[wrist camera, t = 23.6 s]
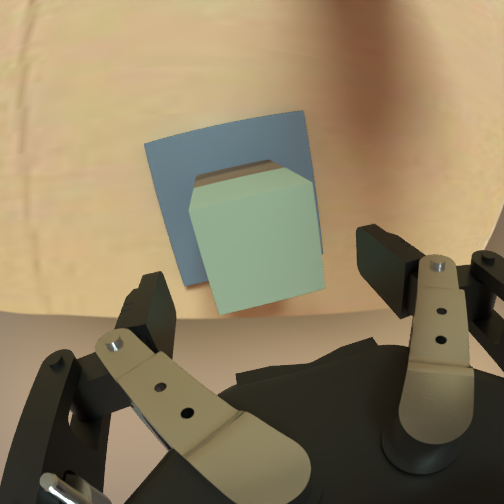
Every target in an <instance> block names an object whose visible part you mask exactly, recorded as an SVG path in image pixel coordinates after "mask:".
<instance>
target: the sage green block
mask: <svg viewBox="0 0 504 504" xmlns="http://www.w3.org/2000/svg"><path fill="white" fill-rule="evenodd" d="M189 214H190V218H191V221H192V225H193V229H194V232H195V236H196V239H197V243H198V246H199V250H200V253H201V257H202V260H203V263H204V267H205V270H206V273H207V277H208V280H209V283H210V287H211V290H212V293H213V296H214V300H215V303H216V306H217V309H218V312H219V315H223V314H227V313H231V312H236V311H240V310H244V309H248V308H252V307H256V306H260V305H264V304H268V303H272V302H276V301H280V300H284V299H288V298H292V297H296V296H299V295H303V294H307V293H311V292H314V291H318V290H321V289H325V282H324V272H323V262H322V253H321V244H320V236H319V228H318V220H317V212H316V205H315V198H314V191H313V184H312V182H311V181H309V180H307V179H305V178H304V177H302V176H300V175H298V174H296V173H295V172H293V171H291V170H289V169H287V168H280V169H275V170H270V171H265V172H261V173H256V174H251V175H247V176H242V177H238V178H234V179H229V180H225V181H221V182H217V183H212V184H208V185H204V186H200V187H196V188H194V189H193V193H192V197H191V202H190V206H189Z"/></svg>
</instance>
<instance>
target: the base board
mask: <svg viewBox="0 0 504 504" xmlns="http://www.w3.org/2000/svg"><path fill="white" fill-rule="evenodd" d="M144 146H145V151H146V155H147V159H148V163H149V167H150V171H151V175H152V178H153V182H154V186H155V190H156V193H157V197H158V201H159V204H160V208H161V211H162V215H163V218H164V222H165V225H166V229H167V232H168V236H169V239H170V242H171V245H172V249H173V252H174V255H175V258H176V262H177V265H178V268H179V271H180V274H181V277H182V280H183V283H184V286H189V285H194V284H198V283H202V282H207V281H209V280H208V277H207V273H206V270H205V267H204V263H203V260H202V257H201V253H200V250H199V246H198V243H197V239H196V236H195V232H194V229H193V225H192V221H191V218H190V214H189V206H190V202H191V197H192V193H193V187H194V183H195V179H196V175H200V174H204V173H208V172H212V171H217V170H221V169H225V168H230V167H234V166H239V165H244V164H248V163H253V162H258V161H263V160H268V159H270V160H271V161H273V162H275V163H277V164H279V165H281V166H282V167H284V168H287V169H289V170H291V171H293V172H295V173H296V174H298V175H300V176H302V177H304V178H305V179H307V180H309V181H311V182H312V184H313V191H314V198H315V205H316V212H317V220H318V228H319V236H320V244H321V253H322V254H323V249H322V239H321V230H320V221H319V212H318V204H317V196H316V189H315V181H314V174H313V167H312V161H311V154H310V147H309V141H308V135H307V129H306V123H305V117H304V112H303V111H295V112H288V113H281V114H275V115H269V116H263V117H257V118H251V119H246V120H240V121H235V122H230V123H225V124H221V125H216V126H211V127H207V128H203V129H198V130H194V131H190V132H186V133H182V134H178V135H174V136H170V137H167V138H163V139H159V140H156V141H152V142H149V143H145V144H144Z"/></svg>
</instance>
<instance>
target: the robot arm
mask: <svg viewBox="0 0 504 504" xmlns="http://www.w3.org/2000/svg"><path fill="white" fill-rule="evenodd" d="M356 247H357V266H358V270H359V272H360V274H361V276H362V277H363V278H364V279H365V280H366V281H367V282H368V284H369V285H370V286H371V287H372V288H373V289H374V290H375V291H376V292H377V293H378V295H379V296H380V297H381V298H382V299H383V300H384V301H385V302H386V304H387V305H388V306H389V307H390V308H391V309H392V310H393V312H394V313H396V315H397V316H398V317H399V318H400V319H402V318H405V317H408V316H410V315H412V316H413V320H412V327H411V334H410V340H409V346H408V347H405V346H399V345H379V346H378V345H377V343H376V342H375V340H374V339H373V337H371V338H368V339H365V340H362V341H359V342H355V343H352V344H349V345H346V346H343V347H340V348H338V349H336V350H335V351H333V352H331V353H329V354H327V355H325V356H323V357H321V358H319V359H318V360H315V361H314V362H311V363H307V364H297V365H280V366H269V367H265V368H260V369H256V370H251V371H247V372H242V373H237V374H236V380H237V384H236V385H234V386H231V387H230V388H228V389H226V390H224V391H223V392H221V393H220V394H218V395H216V394H214V393H213V392H212V391H210V390H209V389H208V388H206V387H205V386H204V385H203V384H201V383H200V382H199V381H197V380H196V379H195V378H194V377H192V376H191V375H190V374H188V373H187V372H186V371H185V370H184V369H183V368H181V367H180V366H179V365H178V364H177V363H175V362H174V361H173V360H172V357H173V356H172V355H173V346H174V336H175V327H176V310H175V306H174V303H173V300H172V298H171V295H170V292H169V289H168V286H167V283H166V281H165V278H164V275H163V273H162V272H161V271H159V272H154V273H150V274H145V275H143V276H142V279H141V282H140V284H139V287H138V288H137V289H133V290H132V291H131V293H130V294H129V295H128V296H127V297H126V299H125V302H124V304H123V307H122V309H121V313H120V315H119V317H118V320H117V323H116V326H115V328H114V330H112V331H109V332H107V333H106V334H104V335H103V336H102V337H101V338H100V339H99V340H98V341H97V343H96V345H95V352H94V353H92V354H89V355H87V356H84V357H82V358H79V359H76V357H75V356H74V354H73V353H72V351H70V350H67V349H62V350H58V351H56V352H54V353H52V354H50V355H49V356H48V357H47V358H46V359H45V360H44V361H43V363H42V365H41V367H40V369H39V372H38V374H37V376H36V378H35V381H34V383H33V386H32V388H31V391H30V394H29V396H28V398H27V401H26V404H25V406H24V409H23V412H22V414H21V417H20V420H19V423H18V426H17V429H16V432H15V435H14V438H13V441H12V444H11V448H10V451H9V454H8V458H7V462H6V465H5V469H4V473H3V477H2V481H1V485H0V504H112V503H111V501H110V500H109V498H108V497H107V496H105V495H104V494H103V487H104V473H105V461H106V452H107V443H108V442H107V441H108V435H109V427H110V419H111V413H112V412H115V411H118V410H120V409H123V408H126V407H129V406H131V408H132V409H133V410H134V411H135V413H136V414H137V415H138V416H139V418H140V419H141V420H142V421H143V423H144V424H145V425H146V426H147V427H148V429H149V430H150V431H151V432H152V433H153V434H154V436H156V438H157V439H158V440H159V441H160V442H161V444H162V445H163V446H164V447H165V448H166V450H168V453H167V454H166V455H165V456H164V457H163V459H162V460H161V461H160V462H159V463H158V465H157V466H156V467H155V468H154V469H153V471H152V472H151V473H150V474H149V475H148V476H147V478H146V479H145V480H144V481H143V482H142V483H141V485H140V486H139V487H138V488H137V489H136V490H135V491H134V493H133V494H132V495H131V496H130V498H128V500H127V501H126V502H125V503H124V504H504V378H503V377H500V376H496V375H493V374H490V373H487V372H483V371H480V370H477V369H474V368H473V367H471V366H470V356H469V333H468V331H469V332H470V333H471V334H472V335H473V337H475V339H476V340H477V341H478V342H479V343H480V344H481V346H482V347H483V348H484V349H485V350H486V351H487V352H488V354H489V355H490V356H491V357H492V358H493V360H494V361H495V362H496V363H497V364H498V366H499V367H500V368H501V369H502V371H503V372H504V319H503V318H502V317H501V316H500V315H499V314H498V313H497V312H496V311H495V310H494V309H493V308H494V304H495V300H496V296H498V297H499V298H501V299H502V300H503V301H504V258H503V257H501V256H500V255H498V254H497V253H494V252H491V251H486V250H480V251H476V252H474V253H473V254H472V258H471V264H470V265H462V266H456V264H455V262H454V261H453V260H452V259H450V258H449V257H446V256H443V255H436V254H433V255H427V256H426V255H425V254H423V253H422V252H420V251H419V250H418V249H416V248H415V247H413V246H411V244H409V243H408V242H405V240H403V239H402V238H401V237H399V236H398V235H395V234H391V233H388V232H386V231H384V230H383V229H382V228H380V227H379V226H377V225H376V224H371V225H366V226H362V227H358V228H357V230H356ZM70 410H71V412H72V413H73V414H72V419H71V423H70V426H69V422H68V415H69V411H70Z"/></svg>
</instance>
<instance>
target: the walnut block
mask: <svg viewBox="0 0 504 504" xmlns="http://www.w3.org/2000/svg"><path fill="white" fill-rule="evenodd" d="M280 168H284V167H282V166H281V165H279V164H277V163H275V162H273V161H271V160H270V159H268V160H263V161H258V162H253V163H248V164H244V165H239V166H234V167H230V168H225V169H221V170H217V171H212V172H208V173H204V174H200V175H196V179H195V183H194V187H193V189H194V188H196V187H200V186H204V185H208V184H212V183H217V182H221V181H225V180H229V179H234V178H238V177H242V176H247V175H251V174H256V173H261V172H265V171H270V170H275V169H280Z"/></svg>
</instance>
